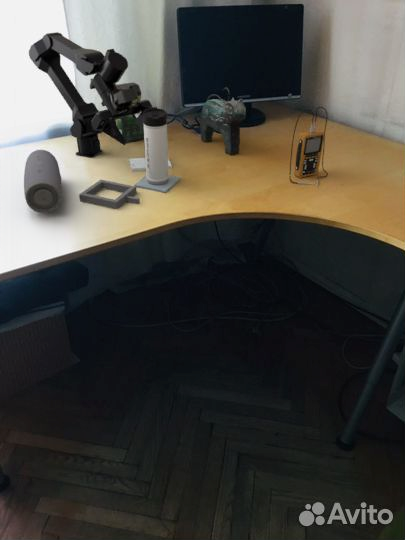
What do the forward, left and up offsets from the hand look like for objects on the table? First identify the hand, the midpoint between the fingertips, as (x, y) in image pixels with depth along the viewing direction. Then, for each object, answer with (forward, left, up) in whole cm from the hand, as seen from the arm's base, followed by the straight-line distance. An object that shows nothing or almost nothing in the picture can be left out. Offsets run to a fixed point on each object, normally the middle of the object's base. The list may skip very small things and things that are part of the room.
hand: (137, 140), depth 131 cm
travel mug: (+7, -3, -10) cm, 13 cm away
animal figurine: (+13, +31, -11) cm, 36 cm away
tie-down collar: (+1, -17, -11) cm, 20 cm away
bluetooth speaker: (-16, -24, -11) cm, 30 cm away
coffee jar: (-19, +26, -11) cm, 34 cm away
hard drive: (-1, +8, -11) cm, 14 cm away
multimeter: (+48, +18, -11) cm, 53 cm away
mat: (+7, -3, -11) cm, 13 cm away
